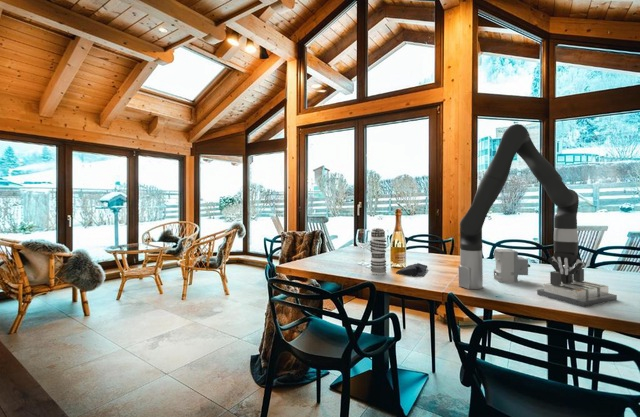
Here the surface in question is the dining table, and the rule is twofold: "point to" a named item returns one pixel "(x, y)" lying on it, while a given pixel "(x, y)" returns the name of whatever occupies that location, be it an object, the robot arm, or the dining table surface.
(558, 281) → the block
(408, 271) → the dark slate chunk
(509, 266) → the circuit breaker
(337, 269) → the dining table surface
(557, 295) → the breaker panel
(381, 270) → the grey ringed tower
